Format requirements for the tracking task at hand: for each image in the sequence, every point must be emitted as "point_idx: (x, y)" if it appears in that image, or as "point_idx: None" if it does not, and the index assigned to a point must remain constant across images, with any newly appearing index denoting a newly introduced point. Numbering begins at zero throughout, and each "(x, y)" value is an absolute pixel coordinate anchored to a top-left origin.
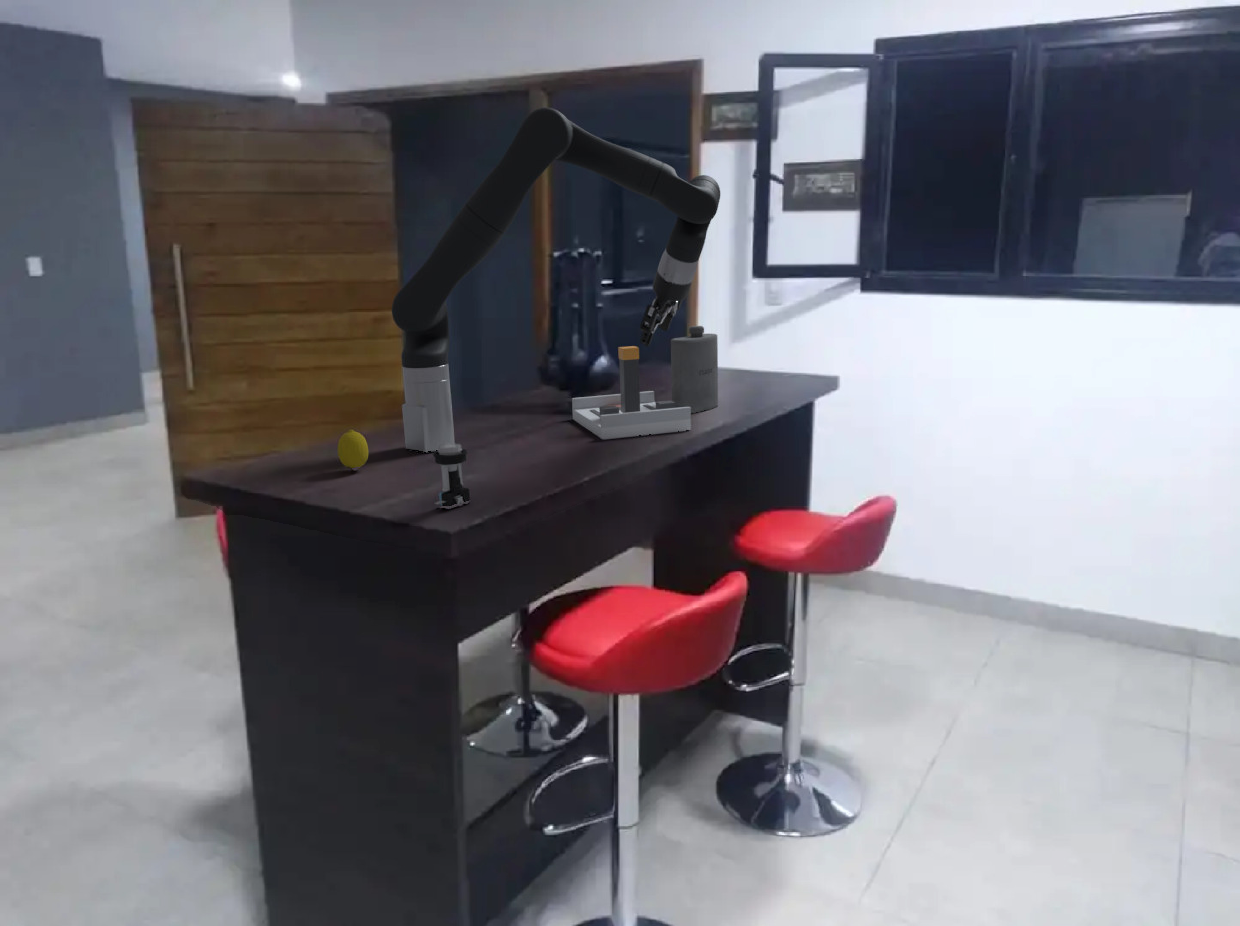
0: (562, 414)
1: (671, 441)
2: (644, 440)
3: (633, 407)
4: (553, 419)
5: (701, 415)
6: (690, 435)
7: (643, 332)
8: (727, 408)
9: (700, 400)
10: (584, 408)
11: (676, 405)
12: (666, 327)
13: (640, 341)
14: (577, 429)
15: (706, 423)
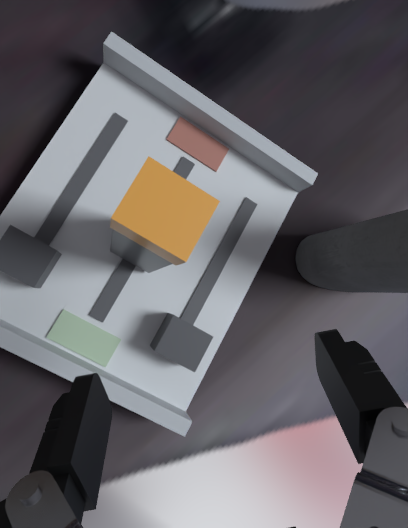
0: (143, 4)
1: None
2: (11, 403)
3: (132, 262)
4: (81, 21)
5: (317, 316)
6: (126, 455)
7: (33, 464)
8: (403, 314)
9: (360, 291)
10: (131, 81)
11: (305, 259)
12: (324, 385)
13: (76, 381)
14: (17, 160)
15: (255, 389)
